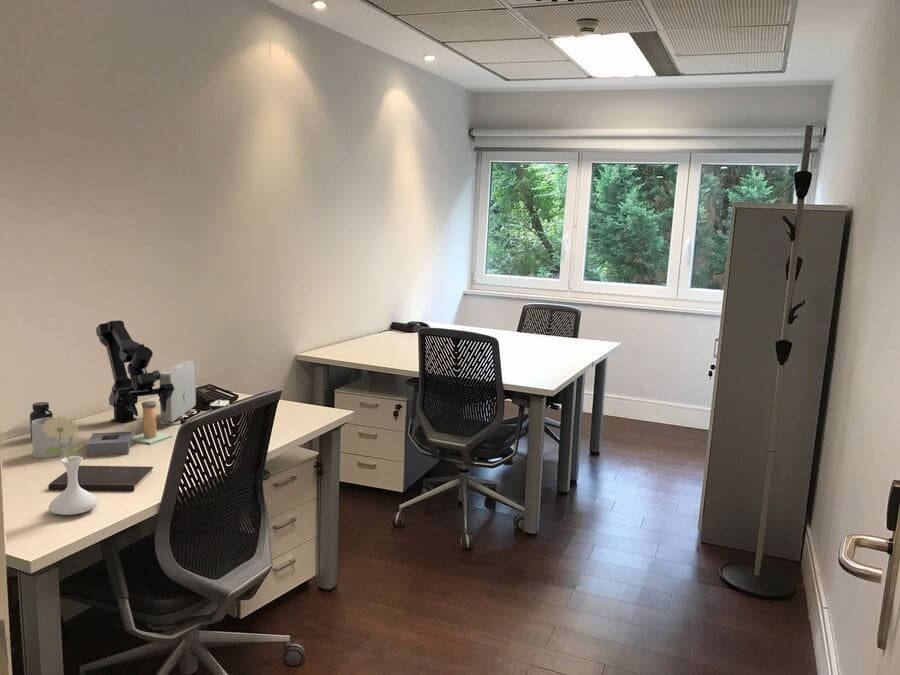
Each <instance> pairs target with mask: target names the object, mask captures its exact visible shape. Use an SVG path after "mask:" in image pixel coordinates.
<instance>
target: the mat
mask: <svg viewBox="0 0 900 675" xmlns="http://www.w3.org/2000/svg"><path fill="white" fill-rule="evenodd" d="M170 438H173V435H172V434H167V433H163V432H157V431H156V437H155V438H150V439H147V438H144V432H143V433H141V434H137V435H134V436H133V442H135V441H137V443H141V442H142V444H146V443H148V444H147V445H152V444H156V443H159V442H162V441H165V440H168V439H170ZM164 439H165V440H164Z"/></svg>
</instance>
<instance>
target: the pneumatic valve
mask: <svg viewBox="0 0 900 675" xmlns="http://www.w3.org/2000/svg"><path fill="white" fill-rule="evenodd" d="M226 405H229V406H230V399H215V401H213V402H210V403H209V410H208V411H211V410H214V409H217V408H220V407H223V406H226Z"/></svg>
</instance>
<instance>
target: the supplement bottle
mask: <svg viewBox="0 0 900 675" xmlns="http://www.w3.org/2000/svg"><path fill="white" fill-rule="evenodd" d="M53 413H54V412H52V410H50V403H49V402H47V401H39V402H34V403H32V411H31V412H30V414H29V432H30V433H29V434H30V439H31V440H32V421H33V420H36V419H39V418H46V417H54V414H53Z"/></svg>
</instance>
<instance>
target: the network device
mask: <svg viewBox="0 0 900 675" xmlns="http://www.w3.org/2000/svg"><path fill="white" fill-rule="evenodd" d="M160 375H161V379H159V386H160V385H161V384H166V383H171V384H173V386H174V391H173V393H172V395H171V397H169V398H168V399H167V400H166V412H165V413H164V412H163V410H162V407H161V404H160V403H159V405H160V408H159V409H160V420H159V424H160V423H161V424H160V425H164V424H169V425H168V426H170V425H171V426H180V425H181V424H180V423H181V421H178V422H177V421H176V420H184V419H183V418H184V417H188V415H186V414H187V413H191V414H196V413H197V411H196V410H194V409H193V408H194V407H195V406H196V405H197V404H196V403H197V391H196V390H197V385H196V383H197V382H196V379H197V378H196V376H197V375H196V361H195V360H183V361H181V362H179V363H177V364H175V365H174V366H171V367H169V368H167V369H165V370H164V371H162V372H160ZM191 409H193V410H191ZM192 412H194V413H192ZM197 414H198V413H197ZM197 414H196V415H197ZM174 421H176V422H174Z"/></svg>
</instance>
